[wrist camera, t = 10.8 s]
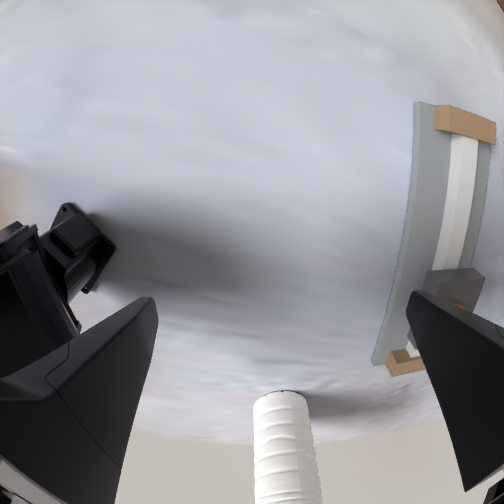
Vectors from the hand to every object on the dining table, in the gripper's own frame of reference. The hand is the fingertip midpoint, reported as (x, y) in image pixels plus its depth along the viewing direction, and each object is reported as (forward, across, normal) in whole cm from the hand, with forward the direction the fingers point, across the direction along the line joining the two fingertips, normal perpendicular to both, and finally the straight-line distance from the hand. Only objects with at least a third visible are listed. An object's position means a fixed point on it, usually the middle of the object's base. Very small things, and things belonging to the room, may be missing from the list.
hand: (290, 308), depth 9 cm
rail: (+13, -16, +4) cm, 21 cm away
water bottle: (+13, -1, +23) cm, 27 cm away
